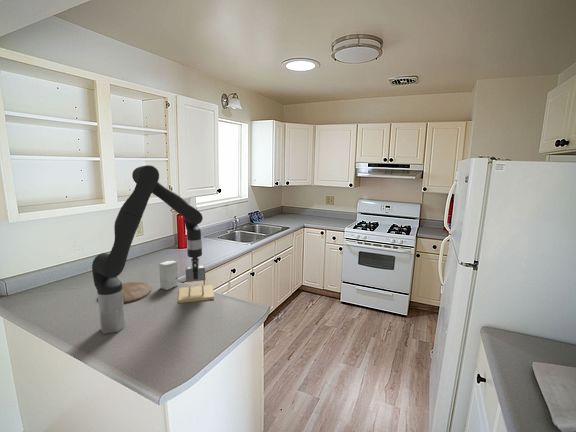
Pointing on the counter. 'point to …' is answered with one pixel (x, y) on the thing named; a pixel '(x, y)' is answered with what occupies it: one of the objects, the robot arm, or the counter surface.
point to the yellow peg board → (195, 293)
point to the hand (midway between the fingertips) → (195, 277)
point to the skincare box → (168, 274)
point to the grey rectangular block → (191, 278)
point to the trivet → (135, 291)
